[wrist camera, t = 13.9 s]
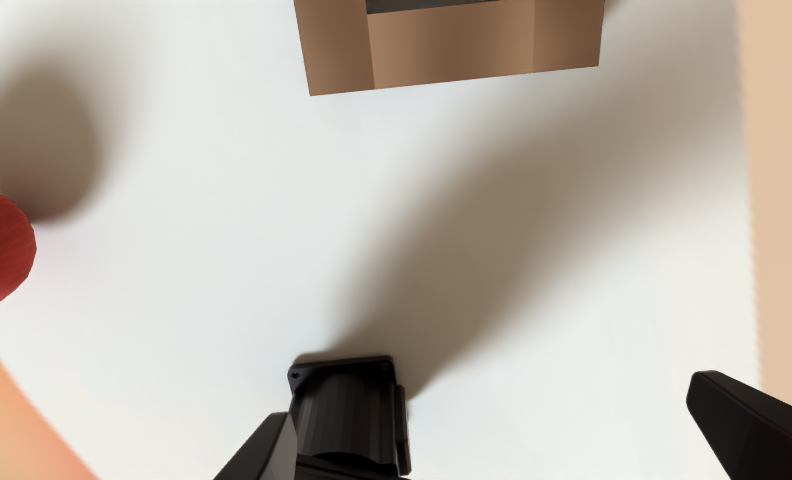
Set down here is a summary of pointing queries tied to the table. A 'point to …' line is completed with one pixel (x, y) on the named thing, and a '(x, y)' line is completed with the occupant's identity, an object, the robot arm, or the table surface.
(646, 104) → the table surface
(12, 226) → the onion
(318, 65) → the block
